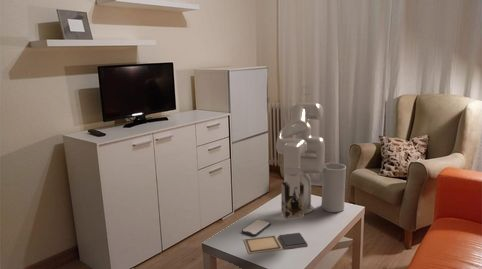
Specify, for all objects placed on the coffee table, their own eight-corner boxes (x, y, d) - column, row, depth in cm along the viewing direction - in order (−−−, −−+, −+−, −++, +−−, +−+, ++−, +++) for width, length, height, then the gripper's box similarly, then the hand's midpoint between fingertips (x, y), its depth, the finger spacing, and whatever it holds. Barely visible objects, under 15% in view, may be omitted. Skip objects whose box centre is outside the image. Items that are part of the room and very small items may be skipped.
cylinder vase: (327, 201, 221) (329, 161, 215) (347, 207, 213) (349, 165, 207) (317, 208, 211) (318, 166, 206) (338, 214, 204) (340, 171, 198)
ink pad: (278, 237, 182) (278, 234, 182) (299, 234, 184) (299, 232, 184) (284, 249, 172) (284, 246, 171) (307, 246, 174) (307, 243, 173)
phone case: (257, 221, 201) (240, 233, 188) (257, 218, 201) (240, 230, 188) (271, 225, 196) (255, 238, 184) (271, 222, 196) (255, 235, 183)
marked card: (243, 239, 181) (243, 238, 181) (275, 235, 184) (275, 234, 184) (248, 253, 169) (248, 252, 169) (282, 249, 172) (282, 248, 171)
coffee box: (285, 219, 171) (285, 187, 167) (281, 213, 178) (280, 182, 174) (304, 217, 173) (304, 184, 169) (299, 211, 179) (299, 179, 175)
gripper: (278, 164, 177) (279, 199, 182) (289, 177, 161) (290, 215, 165) (294, 163, 179) (294, 197, 183) (306, 175, 162) (306, 212, 166)
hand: (292, 205), depth 174 cm, fingers closed on coffee box, 6 cm apart
